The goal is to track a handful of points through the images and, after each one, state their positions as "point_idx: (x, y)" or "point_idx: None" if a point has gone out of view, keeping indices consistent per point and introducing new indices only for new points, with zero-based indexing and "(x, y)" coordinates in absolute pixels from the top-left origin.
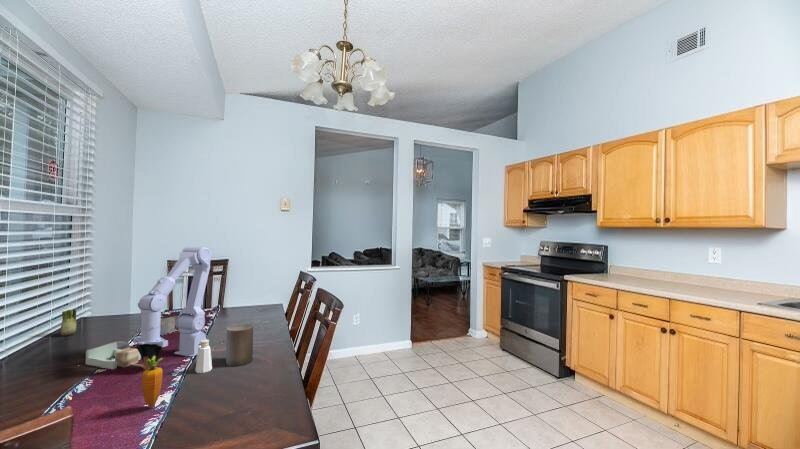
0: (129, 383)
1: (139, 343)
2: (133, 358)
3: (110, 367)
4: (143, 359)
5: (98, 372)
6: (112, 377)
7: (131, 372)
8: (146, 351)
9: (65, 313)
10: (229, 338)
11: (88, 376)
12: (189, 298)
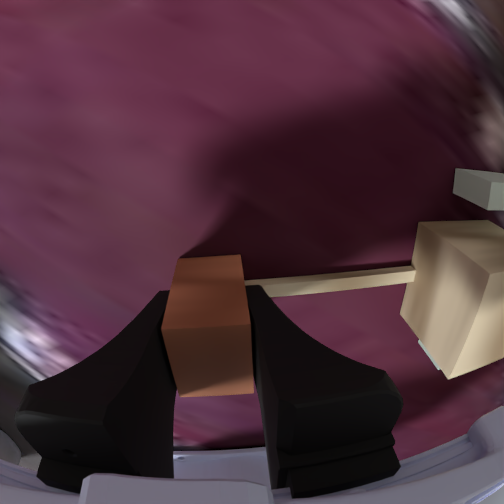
0: (58, 42)
1: (163, 500)
2: (428, 306)
3: (480, 172)
4: (247, 305)
5: (486, 104)
6: (320, 45)
7: (271, 172)
8: (264, 394)
9: None
10: None
11: (478, 41)
12: None
